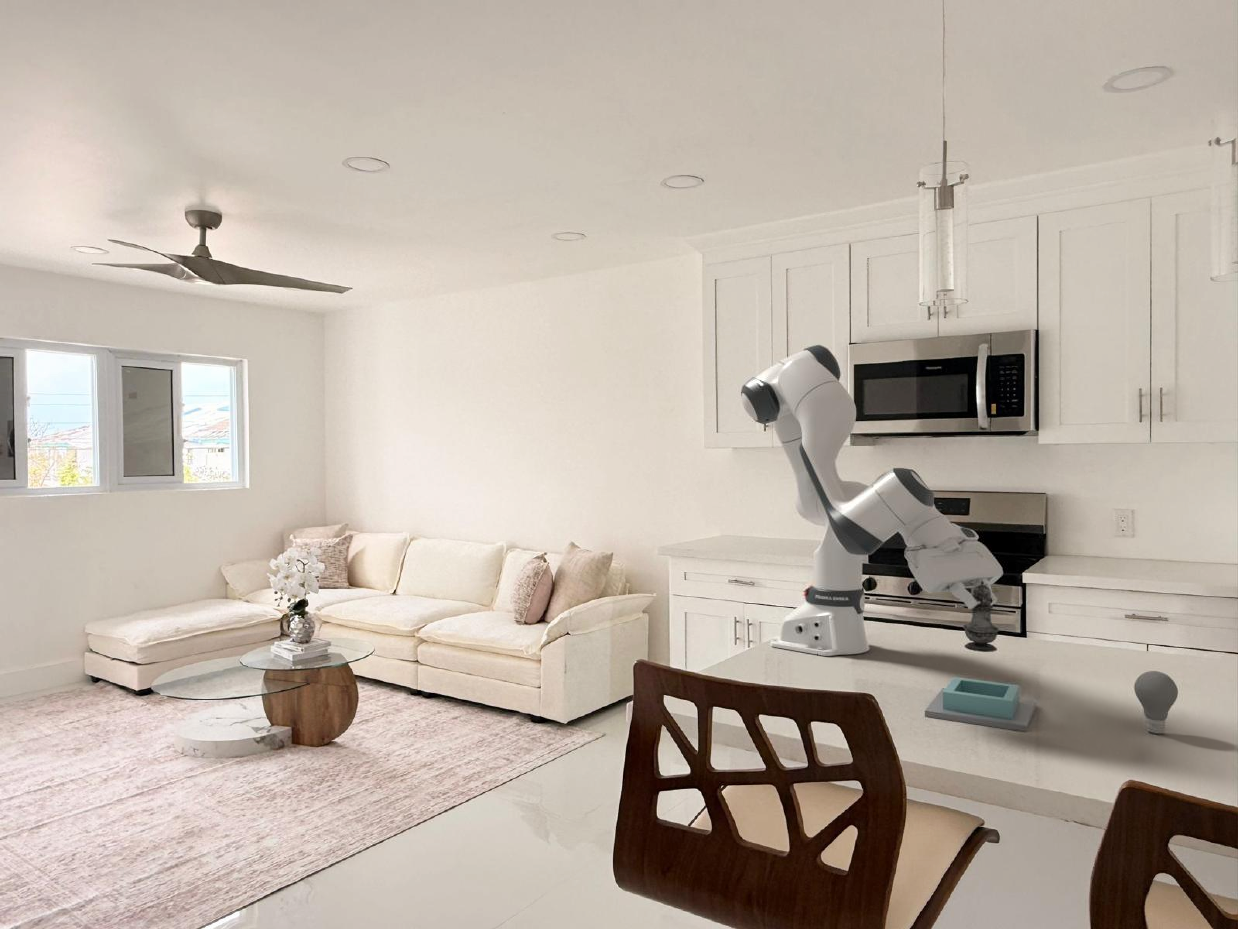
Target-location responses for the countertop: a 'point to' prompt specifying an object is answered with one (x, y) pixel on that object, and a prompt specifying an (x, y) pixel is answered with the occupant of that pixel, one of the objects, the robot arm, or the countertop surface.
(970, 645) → the salt shaker
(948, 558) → the robot arm
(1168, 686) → the light bulb
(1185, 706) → the countertop surface
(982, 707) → the socket
